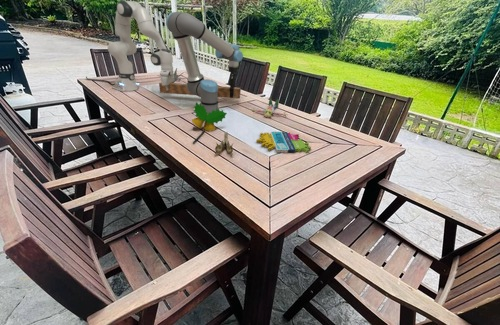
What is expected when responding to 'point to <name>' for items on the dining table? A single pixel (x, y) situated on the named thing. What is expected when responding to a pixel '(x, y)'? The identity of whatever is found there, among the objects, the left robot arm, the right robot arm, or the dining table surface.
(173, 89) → the beam
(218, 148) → the jawbone
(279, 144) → the sign
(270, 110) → the toy
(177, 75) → the airplane
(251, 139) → the dining table surface
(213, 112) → the ornament
